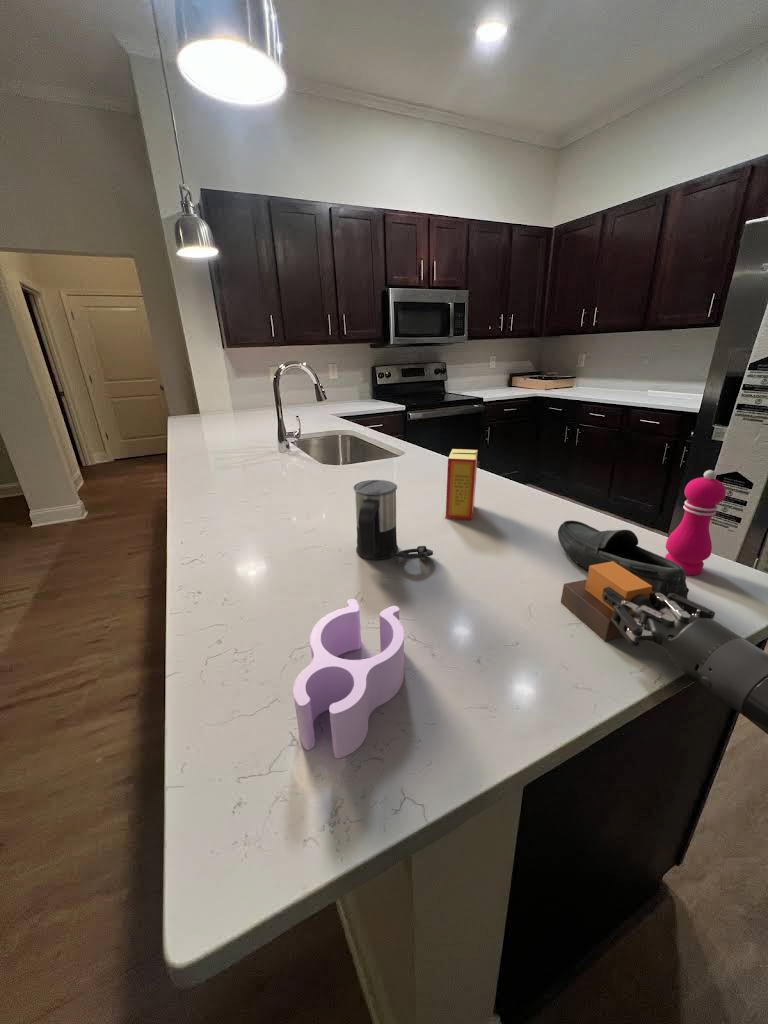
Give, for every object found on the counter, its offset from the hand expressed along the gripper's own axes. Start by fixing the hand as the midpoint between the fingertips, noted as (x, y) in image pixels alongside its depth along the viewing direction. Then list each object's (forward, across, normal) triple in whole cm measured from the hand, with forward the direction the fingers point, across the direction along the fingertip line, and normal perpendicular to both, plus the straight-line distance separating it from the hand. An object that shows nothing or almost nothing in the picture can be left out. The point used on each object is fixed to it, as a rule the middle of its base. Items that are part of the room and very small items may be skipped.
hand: (618, 589), depth 65 cm
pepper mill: (+10, -26, +6) cm, 28 cm away
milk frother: (+32, +27, +6) cm, 43 cm away
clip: (-1, +43, +6) cm, 44 cm away
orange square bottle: (0, 0, 0) cm, 0 cm away
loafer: (+11, -10, +6) cm, 17 cm away
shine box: (+2, 0, +6) cm, 6 cm away
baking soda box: (+49, +4, +6) cm, 49 cm away
